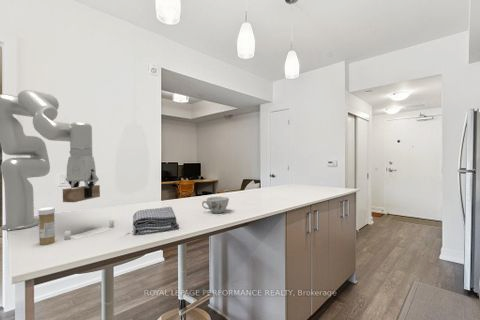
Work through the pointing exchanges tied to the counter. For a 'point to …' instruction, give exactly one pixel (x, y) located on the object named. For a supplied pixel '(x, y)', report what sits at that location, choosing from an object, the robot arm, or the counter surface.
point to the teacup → (216, 204)
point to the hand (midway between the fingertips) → (82, 196)
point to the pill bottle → (46, 225)
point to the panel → (89, 232)
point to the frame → (79, 193)
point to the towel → (154, 220)
